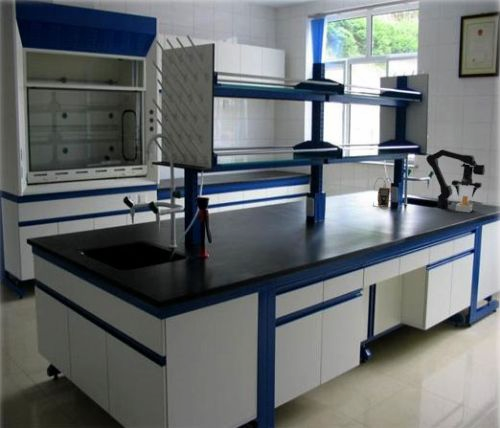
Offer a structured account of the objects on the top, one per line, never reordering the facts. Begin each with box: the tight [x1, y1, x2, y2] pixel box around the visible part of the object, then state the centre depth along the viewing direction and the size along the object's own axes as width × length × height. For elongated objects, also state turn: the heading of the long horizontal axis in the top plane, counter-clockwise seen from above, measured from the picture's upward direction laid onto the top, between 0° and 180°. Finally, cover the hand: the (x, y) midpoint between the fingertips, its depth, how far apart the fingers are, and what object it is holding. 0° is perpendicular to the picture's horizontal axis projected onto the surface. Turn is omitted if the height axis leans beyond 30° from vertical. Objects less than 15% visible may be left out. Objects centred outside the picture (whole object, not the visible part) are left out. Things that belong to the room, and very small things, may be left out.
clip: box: [467, 199, 484, 206], centre depth 383 cm, size 2×11×2 cm, turn 28°
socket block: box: [455, 202, 474, 213], centre depth 385 cm, size 9×10×4 cm
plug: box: [458, 195, 471, 206], centre depth 384 cm, size 6×6×9 cm
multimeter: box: [372, 177, 393, 208], centre depth 388 cm, size 15×10×20 cm
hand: (465, 196), depth 383 cm, fingers open, 9 cm apart
